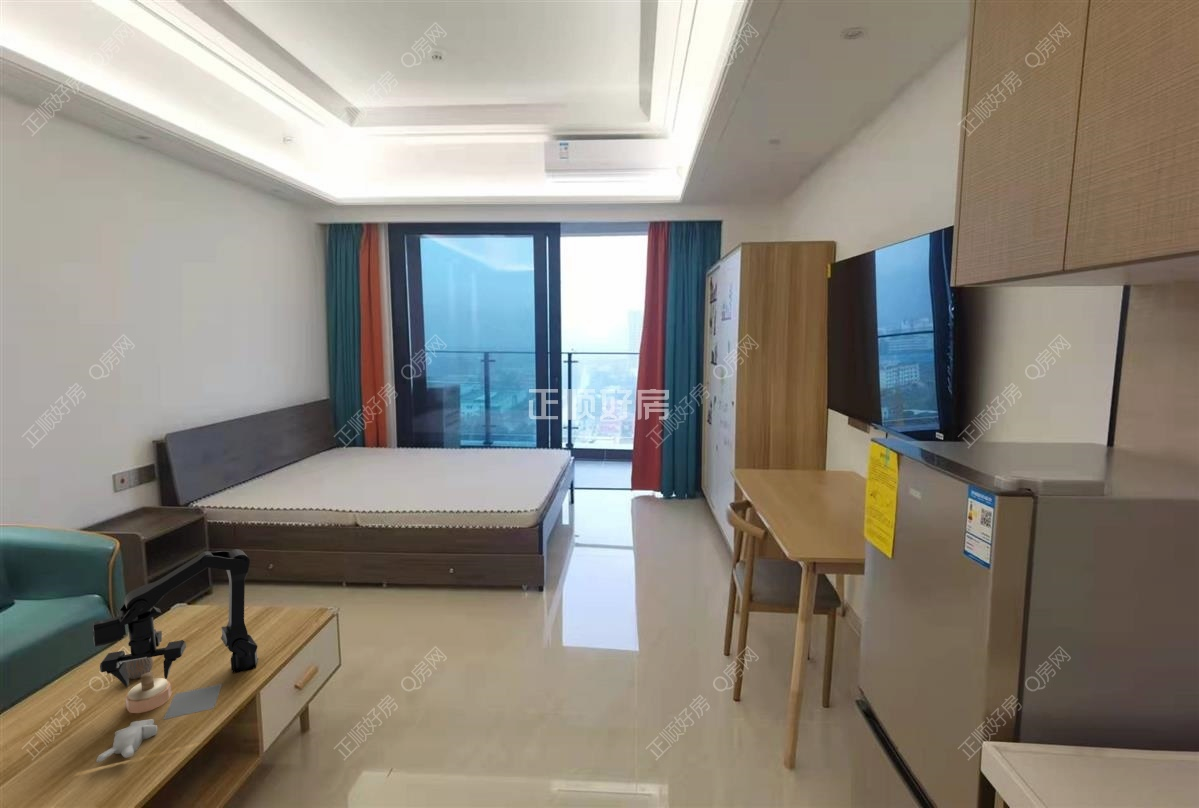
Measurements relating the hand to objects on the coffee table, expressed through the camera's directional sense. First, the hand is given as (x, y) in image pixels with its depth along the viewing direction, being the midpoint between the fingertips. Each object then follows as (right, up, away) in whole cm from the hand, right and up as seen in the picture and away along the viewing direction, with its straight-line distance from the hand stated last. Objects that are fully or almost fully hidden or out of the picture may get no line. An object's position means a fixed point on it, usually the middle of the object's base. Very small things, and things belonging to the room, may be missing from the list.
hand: (147, 682), depth 162 cm
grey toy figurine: (+9, -10, -16) cm, 21 cm away
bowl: (0, -7, +1) cm, 7 cm away
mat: (+13, -7, +1) cm, 15 cm away
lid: (0, -3, 0) cm, 3 cm away
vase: (-13, -5, +14) cm, 20 cm away
